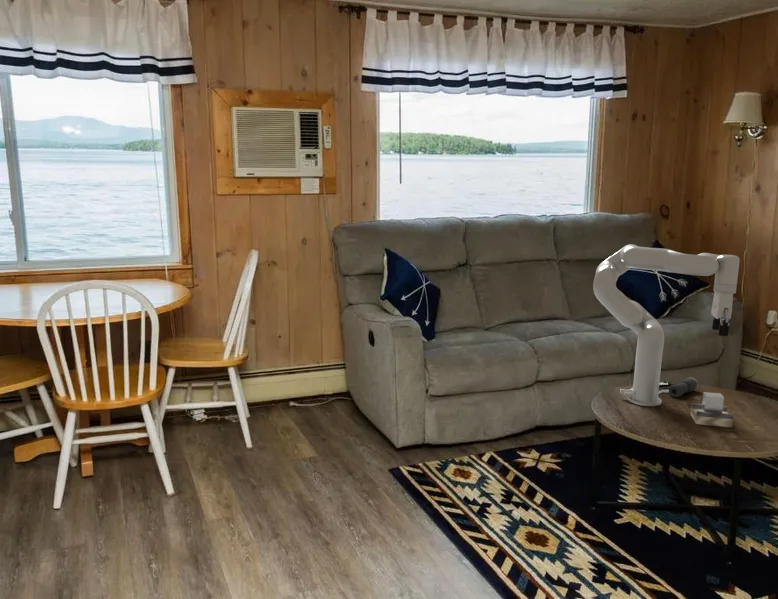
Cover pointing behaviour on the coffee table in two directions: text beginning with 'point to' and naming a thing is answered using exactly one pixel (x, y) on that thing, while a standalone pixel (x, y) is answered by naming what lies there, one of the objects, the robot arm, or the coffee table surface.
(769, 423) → the coffee table surface
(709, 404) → the tall white block
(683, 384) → the flashlight
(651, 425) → the coffee table surface
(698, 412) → the cradle
